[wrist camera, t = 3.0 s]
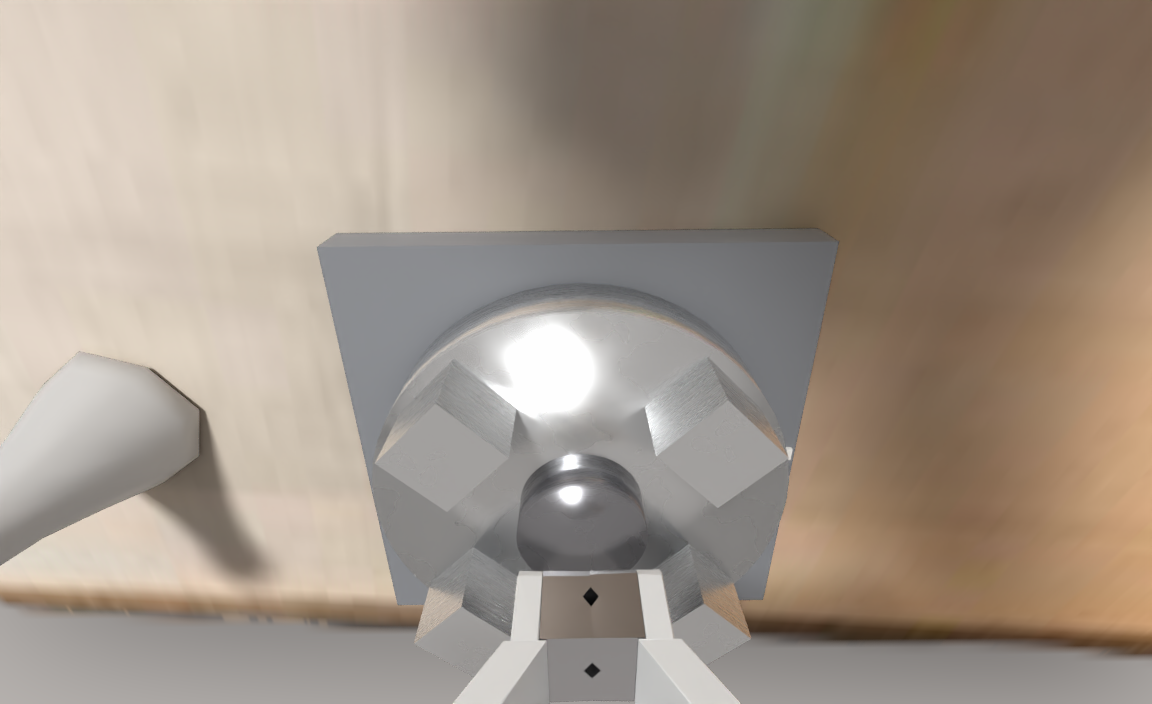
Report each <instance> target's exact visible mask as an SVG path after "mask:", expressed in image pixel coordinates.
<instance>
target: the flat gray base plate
mask: <svg viewBox="0 0 1152 704" xmlns="http://www.w3.org/2000/svg"><path fill="white" fill-rule="evenodd" d="M838 244H839V241H837V240H836V239H834V238H833V237H831V236H829V235H828V234H826V233H825V232H823V231H821V230H820V229H818V228H806V229H711V230H615V231H519V232H423V233H336V234H335V235H333V236H332V237H331V238H329V239H328V240H326V241H325V242H323V243H322V244H320V245H319V246H318V247H317V250H318V255H319V259H320V264H321V268H322V273H323V277H324V281H325V286H326V290H327V295H328V299H329V303H330V308H331V312H332V317H333V321H334V326H335V330H336V334H337V339H338V343H339V348H340V352H341V357H342V361H343V365H344V370H345V374H346V379H347V383H348V387H349V392H350V396H351V401H352V405H353V410H354V414H355V418H356V423H357V427H358V432H359V436H360V440H361V445H362V449H363V454H364V458H365V463H366V467H367V471H368V476H369V480H370V485H371V489H372V494H373V488H372V471H373V459H374V454H375V450H376V445H377V440H378V438H379V435H380V433H381V430H382V428H383V425H384V422H385V420H386V418H387V416H388V414H389V412H390V410H391V408H392V407H393V405H394V403H395V401H396V399H397V397H398V395H399V393H400V391H401V390H402V388H403V386H404V384H405V382H406V380H407V378H408V377H409V375H410V373H411V372H412V370H413V368H414V367H415V365H416V363H417V362H418V360H419V359H420V358H421V356H422V355H423V354H424V353H425V352H426V350H427V349H428V348H429V347H430V346H431V344H432V343H433V342H434V341H435V340H436V339H437V338H438V337H440V336H441V335H442V334H443V333H444V332H445V331H446V330H447V329H448V328H450V327H451V326H452V325H453V324H455V323H456V322H458V321H459V320H461V319H462V318H464V317H465V316H467V315H468V314H470V313H471V312H473V311H475V310H477V309H479V308H481V307H483V306H485V305H487V304H489V303H491V302H493V301H495V300H497V299H500V298H503V297H506V296H509V295H512V294H515V293H518V292H521V291H525V290H530V289H535V288H540V287H545V286H550V285H561V284H575V283H585V284H604V285H612V286H618V287H623V288H629V289H634V290H638V291H641V292H644V293H647V294H650V295H654V296H657V297H660V298H662V299H665V300H667V301H669V302H671V303H673V304H675V305H677V306H680V307H682V308H684V309H686V310H687V311H689V312H690V313H692V314H693V315H695V316H697V317H698V318H700V319H701V320H703V321H704V322H706V323H707V324H708V325H709V326H711V327H712V328H713V329H714V330H715V331H716V332H718V333H719V334H720V335H721V336H722V337H723V338H724V339H725V340H726V341H727V342H728V343H729V344H730V346H731V347H732V348H733V349H734V350H735V351H736V353H737V354H738V355H739V356H740V358H741V359H742V361H743V362H744V364H745V366H746V367H747V369H748V371H749V372H750V374H751V375H752V377H753V379H754V380H755V382H756V384H757V385H758V387H759V389H760V390H761V392H762V394H763V395H764V397H765V399H766V400H767V402H768V404H769V405H770V407H771V409H772V410H773V412H774V414H775V416H776V418H777V421H778V423H779V426H780V428H781V431H782V433H783V436H784V440H785V445H786V450H787V454H788V457H789V459H788V465H789V475H790V470H791V466H792V461H793V456H794V451H795V447H796V442H797V437H798V433H799V428H800V423H801V418H802V414H803V409H804V404H805V400H806V395H807V390H808V385H809V381H810V376H811V371H812V367H813V362H814V357H815V353H816V348H817V343H818V338H819V334H820V329H821V324H822V320H823V315H824V310H825V305H826V301H827V296H828V291H829V287H830V282H831V277H832V273H833V268H834V263H835V258H836V254H837V249H838ZM373 498H374V495H373ZM376 511H377V510H376ZM377 516H378V514H377ZM378 520H379V517H378ZM379 524H380V529H381V533H382V538H383V542H384V547H385V551H386V555H387V560H388V564H389V569H390V573H391V577H392V582H393V586H394V591H395V595H396V600H397V604H398V605H425V601H426V597H427V594H428V590H429V588H428V587H427V586H426V585H424V584H423V583H422V582H421V581H420V580H419V579H418V578H417V577H416V576H415V575H414V574H413V573H412V572H411V571H410V570H409V569H408V568H407V566H406V565H405V564H404V563H403V562H402V561H401V559H400V558H399V556H398V555H397V553H396V552H395V550H394V549H393V547H392V546H391V544H390V542H389V540H388V538H387V536H386V534H385V532H384V530H383V528H382V526H381V523H380V520H379ZM778 527H779V524H778V526H777V528H776V531H775V533H774V535H773V537H772V539H771V541H770V542H769V544H768V545H767V547H766V548H765V550H764V551H763V553H762V554H761V556H760V557H759V558H758V560H757V561H756V562H755V563H754V564H753V565H752V566H751V568H750V569H749V570H748V571H747V572H746V573H745V574H744V575H743V576H742V577H741V578H740V579H739V580H738V581H736V582H735V583H734V586H735V589H736V592H737V595H738V599H739V600H763V597H764V593H765V588H766V583H767V578H768V574H769V569H770V564H771V560H772V555H773V550H774V546H775V541H776V536H777V531H778Z"/></svg>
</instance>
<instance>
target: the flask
mask: <svg viewBox="0 0 1152 704" xmlns="http://www.w3.org/2000/svg"><path fill="white" fill-rule="evenodd" d="M198 456H199V409H198V408H197V407H195V406H194V405H193V404H192V403H190V402H189V401H188V400H187V399H185V398H184V397H183V396H182V395H181V394H179V393H178V392H177V391H176V390H174V389H173V388H172V387H171V386H169V385H168V384H167V383H166V382H164V381H163V380H162V379H161V378H160V377H158V376H157V375H156V374H155V373H153V372H152V371H151V370H150V369H148V368H147V367H143V366H139V365H135V364H131V363H127V362H122V361H118V360H114V359H110V358H106V357H102V356H97V355H93V354H89V353H85V352H81V351H79V352H78V353H77V354H76V355H75V356H74V357H73V358H72V359H71V360H69V361H68V362H67V363H66V364H65V365H64V366H63V367H62V368H61V369H60V370H58V371H57V372H56V373H55V374H54V375H53V376H52V377H51V378H50V379H49V380H48V381H46V382H45V383H44V384H43V386H42V387H41V388H40V390H39V391H38V392H37V394H36V395H35V397H34V398H33V399H32V401H31V402H30V404H29V405H28V407H27V408H26V410H25V411H24V413H23V414H22V416H21V417H20V419H19V420H18V421H17V423H16V424H15V426H14V427H13V429H12V430H11V432H10V433H9V435H8V436H7V438H6V439H5V440H4V442H3V443H2V444H1V446H0V565H2V564H4V563H5V562H7V561H8V560H10V559H11V558H13V557H14V556H16V555H17V554H19V553H21V552H22V551H24V550H25V549H27V548H28V547H30V546H31V545H33V544H35V543H36V542H38V541H39V540H41V539H42V538H44V537H46V536H48V535H51V534H53V533H55V532H57V531H59V530H61V529H63V528H65V527H67V526H69V525H72V524H74V523H76V522H78V521H80V520H82V519H84V518H86V517H88V516H90V515H92V514H95V513H97V512H99V511H101V510H103V509H105V508H108V507H110V506H112V505H114V504H117V503H119V502H121V501H124V500H126V499H128V498H131V497H133V496H135V495H138V494H140V493H142V492H144V491H147V490H149V489H151V488H153V487H155V486H157V485H160V484H162V483H164V482H165V481H166V480H168V479H169V478H170V477H172V476H173V475H174V474H176V473H177V472H178V471H180V470H181V469H182V468H184V467H185V466H186V465H188V464H189V463H190V462H192V461H193V460H194V459H196V458H197V457H198Z"/></svg>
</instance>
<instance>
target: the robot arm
mask: <svg viewBox="0 0 1152 704" xmlns="http://www.w3.org/2000/svg"><path fill="white" fill-rule="evenodd" d="M590 700H593V701H595V700H596V701H635V704H741V703H740V702H739V701H738V700H737V699H736V697H734V695H733V694H732V693H731V692H730V691H729V690H728V689H727V688H726V687H725V685H724V684H723V683H722V682H721V681H720V680H719V679H718V678H717V677H716V675H715V674H714V673H713V672H712V671H711V670H710V669H709V668H708V667H707V666H706V664H705V663H704V662H703V661H702V660H701V659H700V658H699V657H698V656H697V655H696V653H695V652H694V651H693V650H692V649H691V648H690V647H689V646H688V645H687V644H686V643H685V641H684V640H683V639H680V638H674V633H673V627H672V622H671V617H670V612H669V607H668V601H667V596H666V591H665V586H664V581H663V575H662V572H661V571H660V569H651V570H599V571H519V574H518V577H517V584H516V593H515V602H514V612H513V621H512V630H511V639H510V641H503V642H502V643H501V644H500V646H499V647H498V648H497V649H496V650H495V652H494V653H493V654H492V655H491V657H490V658H489V659H488V660H487V662H486V663H485V664H484V665H483V667H482V668H481V669H480V670H479V672H478V673H477V674H476V675H475V676H474V678H473V679H472V680H471V681H470V683H469V684H468V685H467V686H466V688H465V689H464V690H463V691H462V693H461V694H460V695H459V696H458V698H457V699H456V700H455V701H454V702H453V704H550V702H569V701H590Z"/></svg>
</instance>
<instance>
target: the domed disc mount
mask: <svg viewBox="0 0 1152 704" xmlns="http://www.w3.org/2000/svg"><path fill="white" fill-rule="evenodd" d="M788 459H789V457H788V454H787V450H786V445H785V440H784V436H783V433H782V431H781V428H780V426H779V423H778V421H777V418H776V416H775V414H774V412H773V410H772V409H771V407H770V405H769V404H768V402H767V400H766V399H765V397H764V395H763V394H762V392H761V390H760V389H759V387H758V385H757V384H756V382H755V380H754V379H753V377H752V375H751V374H750V372H749V371H748V369H747V367H746V366H745V364H744V362H743V361H742V359H741V358H740V356H739V355H738V354H737V353H736V351H735V350H734V349H733V348H732V347H731V346H730V344H729V343H728V342H727V341H726V340H725V339H724V338H723V337H722V336H721V335H720V334H719V333H718V332H716V331H715V330H714V329H713V328H712V327H711V326H709V325H708V324H707V323H706V322H704V321H703V320H701V319H700V318H698V317H697V316H695V315H693V314H692V313H690V312H689V311H687V310H686V309H684V308H682V307H680V306H677V305H675V304H673V303H671V302H669V301H667V300H665V299H662V298H660V297H657V296H654V295H650V294H647V293H644V292H641V291H638V290H634V289H629V288H623V287H618V286H612V285H604V284H585V283H575V284H561V285H550V286H545V287H540V288H535V289H530V290H525V291H521V292H518V293H515V294H512V295H509V296H506V297H503V298H500V299H497V300H495V301H493V302H491V303H489V304H487V305H485V306H483V307H481V308H479V309H477V310H475V311H473V312H471V313H470V314H468V315H467V316H465V317H464V318H462V319H461V320H459V321H458V322H456V323H455V324H453V325H452V326H451V327H450V328H448V329H447V330H446V331H445V332H444V333H443V334H442V335H441V336H440V337H438V338H437V339H436V340H435V341H434V342H433V343H432V344H431V346H430V347H429V348H428V349H427V350H426V352H425V353H424V354H423V355H422V356H421V358H420V359H419V360H418V362H417V363H416V365H415V367H414V368H413V370H412V372H411V373H410V375H409V377H408V378H407V380H406V382H405V384H404V386H403V388H402V390H401V391H400V393H399V395H398V397H397V399H396V401H395V403H394V405H393V407H392V408H391V410H390V412H389V414H388V416H387V418H386V420H385V422H384V425H383V428H382V430H381V433H380V435H379V438H378V440H377V445H376V450H375V454H374V459H373V471H372V488H373V495H374V502H375V507H376V510H377V514H378V517H379V520H380V523H381V526H382V528H383V530H384V532H385V534H386V536H387V538H388V540H389V542H390V544H391V546H392V547H393V549H394V550H395V552H396V553H397V555H398V556H399V558H400V559H401V561H402V562H403V563H404V564H405V565H406V566H407V568H408V569H409V570H410V571H411V572H412V573H413V574H414V575H415V576H416V577H417V578H418V579H419V580H420V581H421V582H422V583H423V584H424V585H426V586H427V587H428V588H429V590H428V594H427V597H426V601H425V605H424V608H423V612H422V616H421V619H420V623H419V627H418V630H417V634H416V638H415V641H414V644H415V645H417V646H418V647H420V648H422V649H424V650H426V651H427V652H429V653H431V654H433V655H435V656H436V657H438V658H440V659H442V660H444V661H445V662H447V663H449V664H451V665H453V666H454V667H456V668H458V669H460V670H461V671H463V672H465V673H467V674H469V675H471V676H472V677H474V676H475V675H476V674H477V673H478V672H479V670H480V669H481V668H482V667H483V665H484V664H485V663H486V662H487V660H488V659H489V658H490V657H491V655H492V654H493V653H494V652H495V650H496V649H497V648H498V647H499V646H500V644H501V643H502V642H503V641H510V639H511V630H512V621H513V612H514V602H515V593H516V584H517V577H518V574H519V571H599V570H651V569H660V571H661V572H662V575H663V581H664V586H665V591H666V596H667V601H668V607H669V612H670V617H671V622H672V627H673V633H674V638H680V639H683V640H684V641H685V643H686V644H687V645H688V646H689V647H690V648H691V649H692V650H693V651H694V652H695V653H696V655H697V656H698V657H699V658H700V659H701V660H702V661H703V662H704V663H705V664H706V666H707V665H708V664H710V663H711V662H713V661H715V660H717V659H718V658H720V657H722V656H723V655H725V654H727V653H729V652H730V651H732V650H733V649H735V648H737V647H739V646H740V645H742V644H744V643H746V642H747V641H749V640H751V636H750V633H749V630H748V627H747V623H746V620H745V617H744V614H743V611H742V608H741V605H740V602H739V599H738V595H737V592H736V589H735V586H734V583H735V582H736V581H738V580H739V579H740V578H741V577H742V576H743V575H744V574H745V573H746V572H747V571H748V570H749V569H750V568H751V566H752V565H753V564H754V563H755V562H756V561H757V560H758V558H759V557H760V556H761V554H762V553H763V551H764V550H765V548H766V547H767V545H768V544H769V542H770V541H771V539H772V537H773V535H774V533H775V531H776V528H777V526H778V524H779V522H780V520H781V516H782V513H783V510H784V506H785V503H786V499H787V491H788V484H789V465H788Z"/></svg>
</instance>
